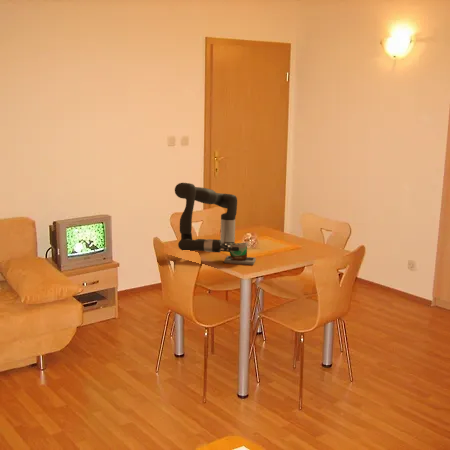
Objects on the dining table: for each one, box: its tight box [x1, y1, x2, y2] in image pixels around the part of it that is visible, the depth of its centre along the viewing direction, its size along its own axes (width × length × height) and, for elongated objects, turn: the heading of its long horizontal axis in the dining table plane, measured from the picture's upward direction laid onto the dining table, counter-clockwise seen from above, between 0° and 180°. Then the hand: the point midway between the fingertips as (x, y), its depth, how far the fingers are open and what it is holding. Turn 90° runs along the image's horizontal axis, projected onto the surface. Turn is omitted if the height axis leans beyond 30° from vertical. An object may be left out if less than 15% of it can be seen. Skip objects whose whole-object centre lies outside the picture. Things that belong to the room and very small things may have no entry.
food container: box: [228, 241, 249, 261], centre depth 357 cm, size 12×6×10 cm, turn 98°
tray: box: [223, 255, 257, 266], centre depth 359 cm, size 10×17×2 cm, turn 80°
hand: (240, 247), depth 357 cm, fingers open, 8 cm apart
